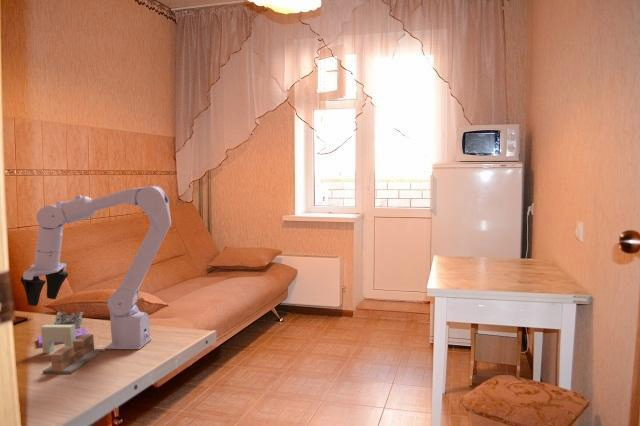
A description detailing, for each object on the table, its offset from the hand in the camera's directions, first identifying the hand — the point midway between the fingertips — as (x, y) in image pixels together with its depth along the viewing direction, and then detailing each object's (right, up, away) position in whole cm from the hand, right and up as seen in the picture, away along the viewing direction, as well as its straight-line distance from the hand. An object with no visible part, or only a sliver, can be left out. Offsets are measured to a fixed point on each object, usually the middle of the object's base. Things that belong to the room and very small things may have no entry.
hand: (42, 301), depth 128 cm
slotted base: (+12, -14, -6) cm, 19 cm away
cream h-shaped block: (+4, -13, +1) cm, 14 cm away
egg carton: (-5, -12, +23) cm, 26 cm away
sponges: (0, -13, +11) cm, 17 cm away
